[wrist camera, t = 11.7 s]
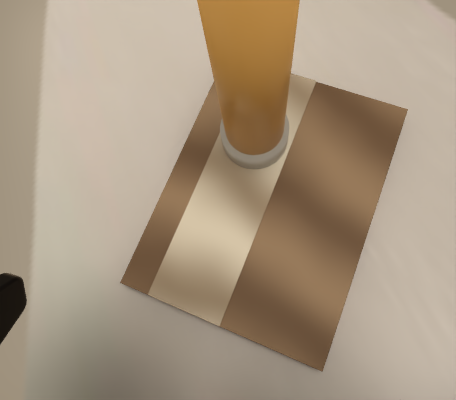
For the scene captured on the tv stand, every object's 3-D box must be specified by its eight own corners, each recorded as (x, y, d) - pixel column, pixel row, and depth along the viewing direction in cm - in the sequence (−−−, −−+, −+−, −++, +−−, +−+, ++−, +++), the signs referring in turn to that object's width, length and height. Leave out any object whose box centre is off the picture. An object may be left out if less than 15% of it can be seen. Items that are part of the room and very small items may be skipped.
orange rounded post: (290, 166, 23) (323, -2, 10) (224, 171, 23) (178, 13, 11) (284, 106, 24) (308, -111, 12) (221, 112, 24) (177, -94, 12)
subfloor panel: (319, 368, 21) (322, 371, 20) (126, 283, 23) (119, 282, 22) (402, 117, 24) (408, 108, 23) (227, 64, 26) (226, 54, 25)
